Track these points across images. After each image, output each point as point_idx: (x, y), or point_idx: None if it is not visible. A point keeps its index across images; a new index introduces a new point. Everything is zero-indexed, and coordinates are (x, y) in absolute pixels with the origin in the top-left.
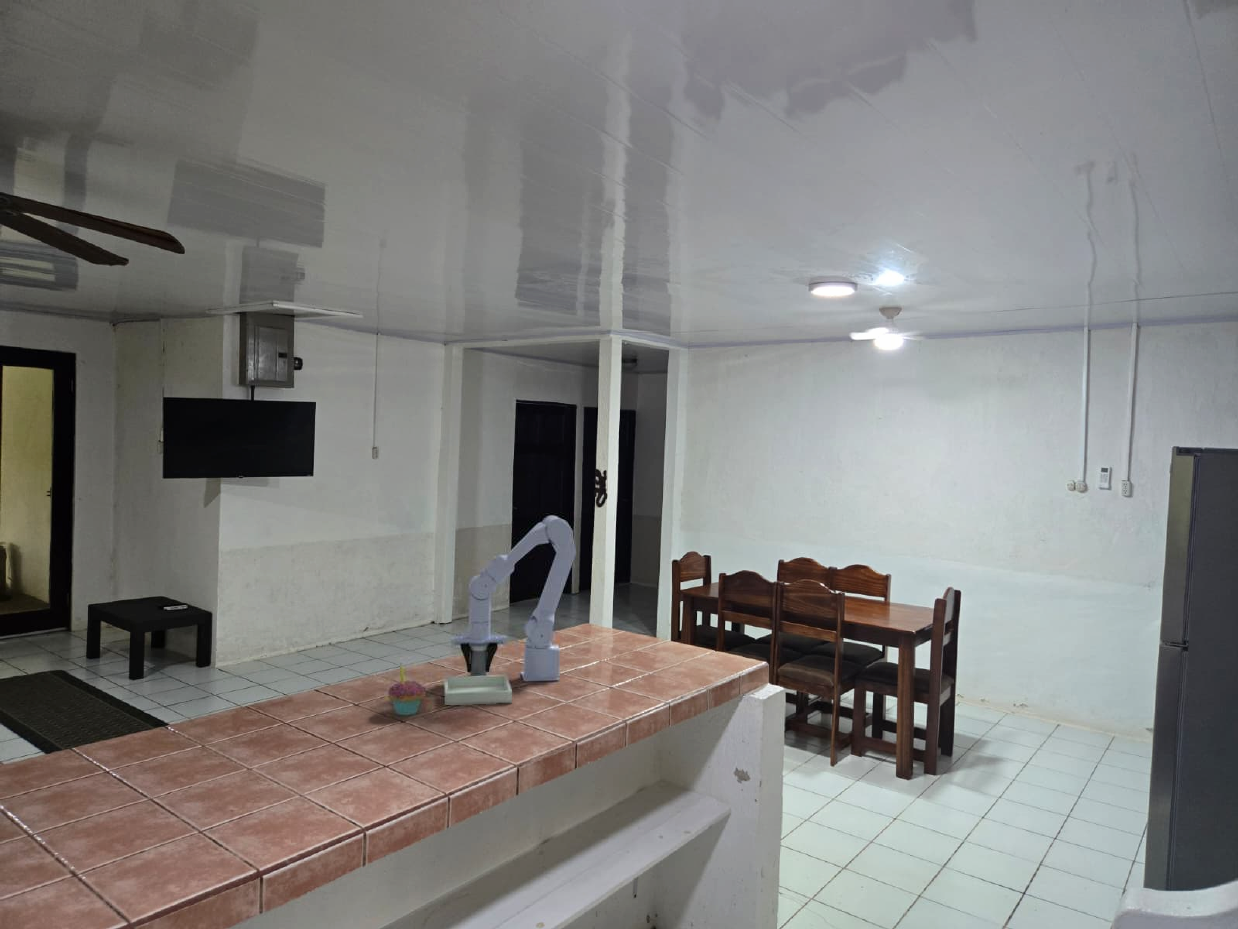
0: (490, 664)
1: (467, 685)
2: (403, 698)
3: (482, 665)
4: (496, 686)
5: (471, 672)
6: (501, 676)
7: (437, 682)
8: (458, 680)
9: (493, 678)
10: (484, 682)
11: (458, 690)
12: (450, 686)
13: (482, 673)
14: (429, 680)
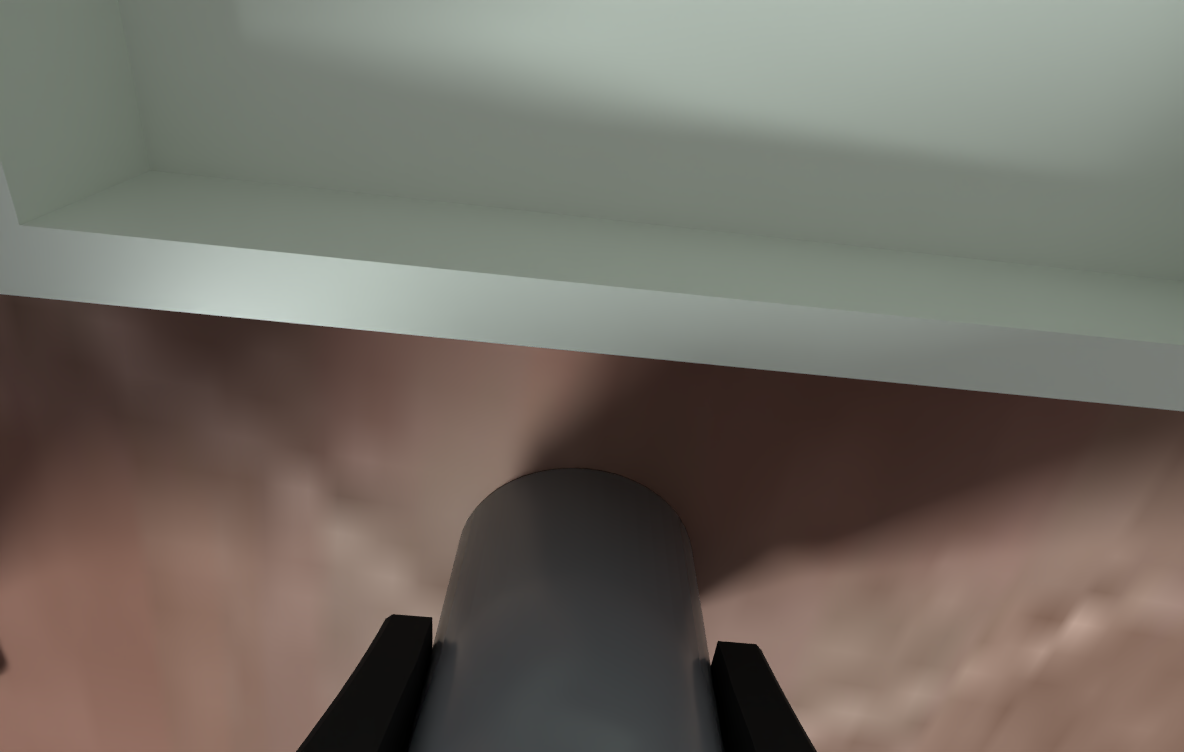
0: (316, 727)
1: (849, 250)
2: None
3: (497, 708)
4: (290, 96)
5: (699, 633)
6: (88, 226)
7: (1126, 587)
8: (1078, 307)
9: (306, 238)
10: (521, 232)
11: None
12: (1152, 279)
13: (511, 576)
14: (1176, 666)
